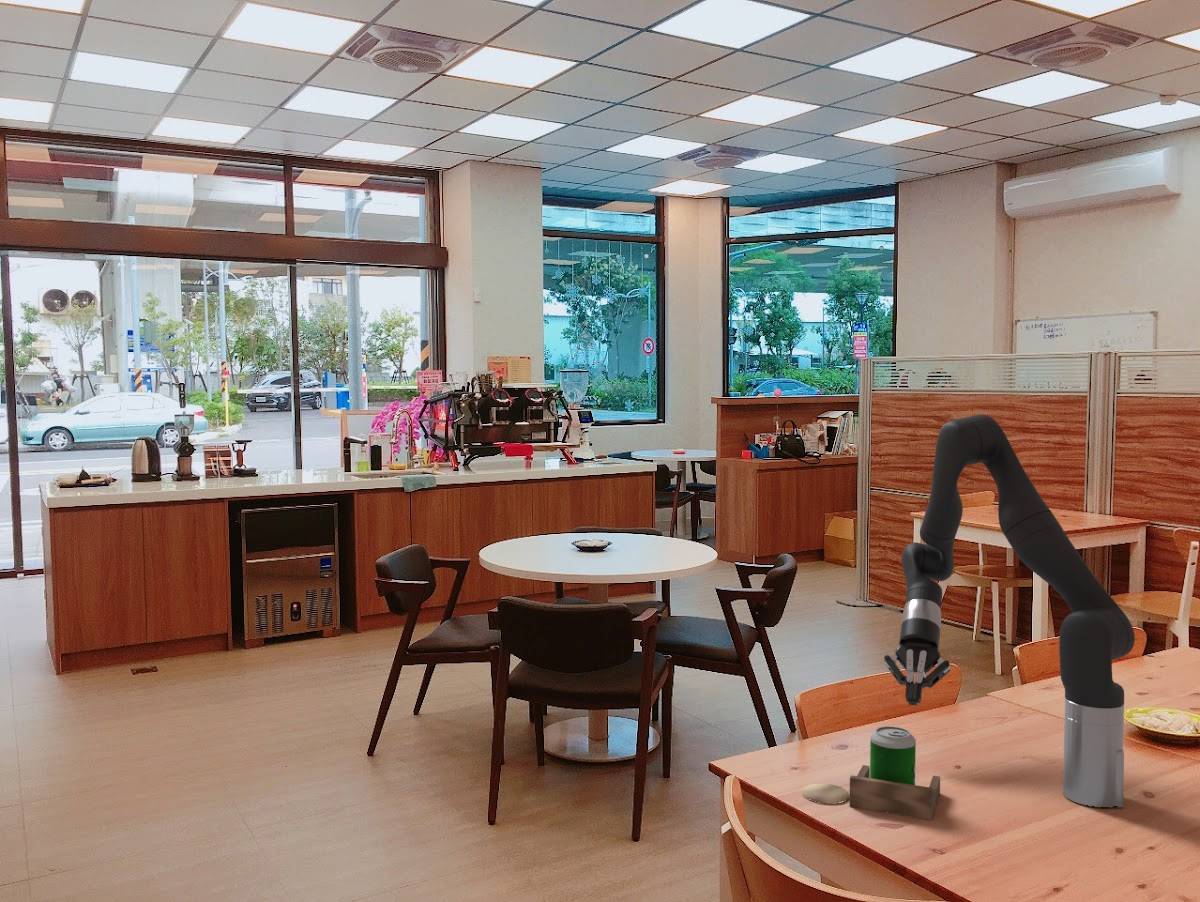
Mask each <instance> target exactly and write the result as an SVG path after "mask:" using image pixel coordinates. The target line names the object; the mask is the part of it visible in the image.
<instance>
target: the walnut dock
mask: <svg viewBox="0 0 1200 902" xmlns="http://www.w3.org/2000/svg"><path fill="white" fill-rule="evenodd" d="M940 795H941V776H939V775H938V776H937V775H932V778H931V780H930V783H929V786H923V785H916V784H915V785H911V784H904V783H898V782H891V781H885V780H878V779H872V778H870V765H866V764H863V765H861V767H860V770H859V771H858V773H857V775H850V777H849V807H850V806H853V807H852V808H856V807H858V808H857V809H862V808H864V809H863V810H868V809H869V811H874V810H876V811H875V812H880V811H881V813H886V812H888V813H887V814H892V813H894V814H893V815H898V814H899V815H898V816H903V817H905V816H906V817H911V818H917V819H922V820H928V821H932V820H933V816H934V813H935V810H936V808H937V807H936V806H937V804H938V801H939V797H940Z"/></svg>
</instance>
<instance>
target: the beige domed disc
mask: <svg viewBox="0 0 1200 902" xmlns="http://www.w3.org/2000/svg"><path fill="white" fill-rule="evenodd" d="M801 791H802V792H801V793H803V794H802V796H803V795H804V796H805V797H807V798H808V799H811V800H813V801H816V802H820V803H819V804H821V803H839V802H842V801H845V800H847V799H848V798H849V799H850V792H849V791H848V790H847V789H846V788H843V787H842V786H839V785H836V784H831V783H811V784H808V785H806V786H804V787H803V788H802V789H801ZM804 796H803V797H804ZM805 797H804V798H805ZM808 799H807V800H808ZM849 799H848V800H849ZM848 800H847V801H848ZM813 801H812V802H813ZM816 802H815V803H816ZM845 802H846V801H845ZM839 804H840V803H839Z"/></svg>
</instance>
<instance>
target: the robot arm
mask: <svg viewBox="0 0 1200 902" xmlns="http://www.w3.org/2000/svg"><path fill="white" fill-rule="evenodd" d="M980 463H982V464H983V465H984V466H985V467H986V468H987V470H988V472H989V474H990V475H991V477H992V479H993V480H994V483H995V485H996V488H997V493H998V494H997V495H998V497H997V498H998V505H997V506H998V507H997V509H998V522H999V527H1000V529H1001V533H1002V534H1003V536H1004V537H1005V539H1006V540H1007V542H1008V543H1009V545H1010V547H1011V548H1012V550H1013V551H1014V553H1015V555H1016V556H1017V557H1018V559H1020V560H1021V562H1022V563H1023V564H1024V565H1026V567H1027V568H1028V569H1030V570H1031V572H1033V573H1035V574H1036V575H1037V576H1038V577H1039V578H1041V580H1044V581H1045V582H1046V583H1047V584H1048V585H1049V586H1050V587H1052V588H1053V589H1054V590H1055V591H1056V592H1058V594H1059V595H1060V596H1061V598H1062V599H1063V601H1065V603H1066V605H1067V606H1068V608H1069V609H1070V611H1071V613H1070V614H1068V615H1066V616H1065V618H1064V620H1063V621H1062V623H1061V626H1060V629H1059V639H1058V640H1059V642H1058V645H1059V646H1058V647H1059V649H1058V650H1059V652H1058V653H1059V675H1060V679H1061V682H1062V685H1063V687H1064V688H1063V689H1064V727H1063V730H1064V733H1063V735H1064V736H1063V737H1064V738H1063V768H1062V769H1063V776H1062V777H1063V780H1062V785H1063V786H1062V793H1063V796H1064V797H1065V798H1067V800H1069V801H1071V802H1074V803H1077V804H1078V805H1079V804H1080V805H1083V806H1087V805H1088V807H1092V806H1094V807H1095V808H1101V807H1109V808H1114V807H1113V806H1117V807H1116V808H1120V807H1123V808H1124V773H1125V771H1124V770H1125V752H1124V728H1125V727H1124V724H1125V723H1124V721H1125V716H1124V715H1125V689H1124V687H1123V686H1122V685H1120V684H1119V683H1117V682H1115V681H1114V679H1113V665H1112V664H1113V663H1112V661H1113V660H1119V659H1121V658H1124V657H1125V656H1127V655H1129V654H1130V653H1131V651H1132V650H1133V649H1134V645H1135V639H1136V636H1135V630H1134V627H1133V625H1132V622H1131V621H1130V619H1129V618H1128V616H1127V615H1126V614H1125V612H1124V611H1123V609H1122V608H1121V607H1120V606H1119V605H1118V604H1117V602H1116V601H1115V600H1114V599H1113V597H1111V595H1110V594H1109V593H1108V591H1107V590H1106V589H1105V588H1104V586H1103V585H1102V584H1101V583H1100V582H1099V580H1098V578H1096V577H1095V575H1094V574H1093V571H1091V569H1090V568H1089V566H1088V565H1087V564H1086V562H1085V560H1084V559H1083V558H1082V556H1081V555H1080V553H1079V552H1078V550H1077V549H1076V547H1075V545H1074V544H1073V543H1072V541H1071V540H1070V538H1069V537H1068V535H1067V534H1066V531H1065V530H1064V529H1063V527H1062V526H1061V524H1060V522H1059V520H1057V518H1056V516H1055V515H1054V513H1053V512H1052V511H1051V508H1049V506H1048V505H1047V504H1046V502H1045V501H1044V499H1043V498H1042V496H1041V495H1040V493H1039V492H1038V491H1037V488H1036V487H1035V485H1034V484H1033V482H1032V481H1031V478H1030V476H1028V474H1027V472H1026V470H1025V468H1023V465H1022V464H1021V462H1020V460H1019V458H1018V456H1017V454H1016V452H1015V451H1014V449H1013V447H1012V445H1011V443H1010V441H1009V439H1008V437H1007V436H1006V433H1005V432H1004V430H1003V428H1002V427H1001V425H1000V424H999V423H998V422H997V421H996V419H994V418H993V417H992V416H990V415H988V414H981V413H980V414H975V415H969V416H965V417H960V418H956V419H951V420H949V421H947V422H946V423H944V424H943V426H942V427H941V428H940V430H939V433H938V435H937V440H936V446H935V453H934V461H933V468H932V480H931V488H930V489H931V490H930V496H929V499H928V503H927V506H926V509H925V513H924V517H923V519H922V521H921V526H920V529H919V537H920V539H921V540H922V541H923V542H924V543H921V542H914V541H913V542H911V543H908V545H906V546H905V547H904V549H903V551H902V555H901V565H902V566H901V567H902V571H903V574H904V578H905V580H904V581H905V585H906V596H905V602H904V603H905V605H904V609H903V612H902V616H901V617H902V619H901V625H900V627H901V628H900V633H899V642H898V646H897V648H896V650H895V653H894V654H892V655H888V654H886V655H884V656H883V659H884V663H885V666H886V668H887V669H888V670H889V672H890V674H892V676H893V678H894V679H895V680H896V681H897V683H898V684H899V685H901V686H903V685H904V686H905V694H904V696H905V701H906V702H907V703H908V706H918V704H920V703H921V702H922V697H923V696H922V695H923V689H925V688H928V689H929V688H931V689H932V688H933V687H934V686H935V685H936V684H937V683H939V682H940V681H941V680H942V679H943V678H944V677H945V676H946V675H947V674H949V673H950V672H951V665H950V664H951V662H950V661H949V660H947V659H946V660H944V659H943V658H942V657H941V653H940V650H939V649H940V637H941V630H942V611H941V610H942V602H943V590H942V587H941V585H940V584H939V583H938V582H944V581H946V580H948V579H949V578H950V577H952V574H953V572H954V567H955V559H954V545H955V538H956V536H957V533H958V529H959V528H960V523H961V522H962V517H963V511H964V510H963V509H964V507H963V502H962V498H961V496H960V493H959V489H958V481H959V478H960V476H961V474H962V471H963V470H964V469H965V467H966V466H967V467H968V466H971V465H977V464H980ZM936 581H937V582H936ZM898 662H899V663H900V664H901V667H903V670H905V671H906V675H904V673H903V672H902V671H901V669H900V668H899V666H898ZM935 666H936V667H935ZM934 667H935V668H934ZM933 668H934V669H933ZM932 669H933V670H932ZM930 671H931V672H930ZM929 672H930V673H929ZM915 673H916V674H915ZM927 673H929V674H927ZM915 677H916V678H915ZM1094 807H1093V808H1094Z"/></svg>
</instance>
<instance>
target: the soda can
mask: <svg viewBox="0 0 1200 902" xmlns="http://www.w3.org/2000/svg"><path fill="white" fill-rule="evenodd" d="M869 738H870V742H869V743H870V744H869V746H870V749H869V750H870V751H869V754H870V759H869V761H870V762H869V766H870V778H872V779H878V780H885V781H891V782H898V783H904V784H911V785H916V749H917V748H916V746H917V744H916V743H917V741H916V737H915V736H913V735H912V733H911V731H909V730H908V729H906V728H903V727H898V726H894V725H893V726H892V725H891V726H890V725H887V726H881V727H878V728H875V730H874V731H873V732H872V733H871V734H870V737H869Z"/></svg>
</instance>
